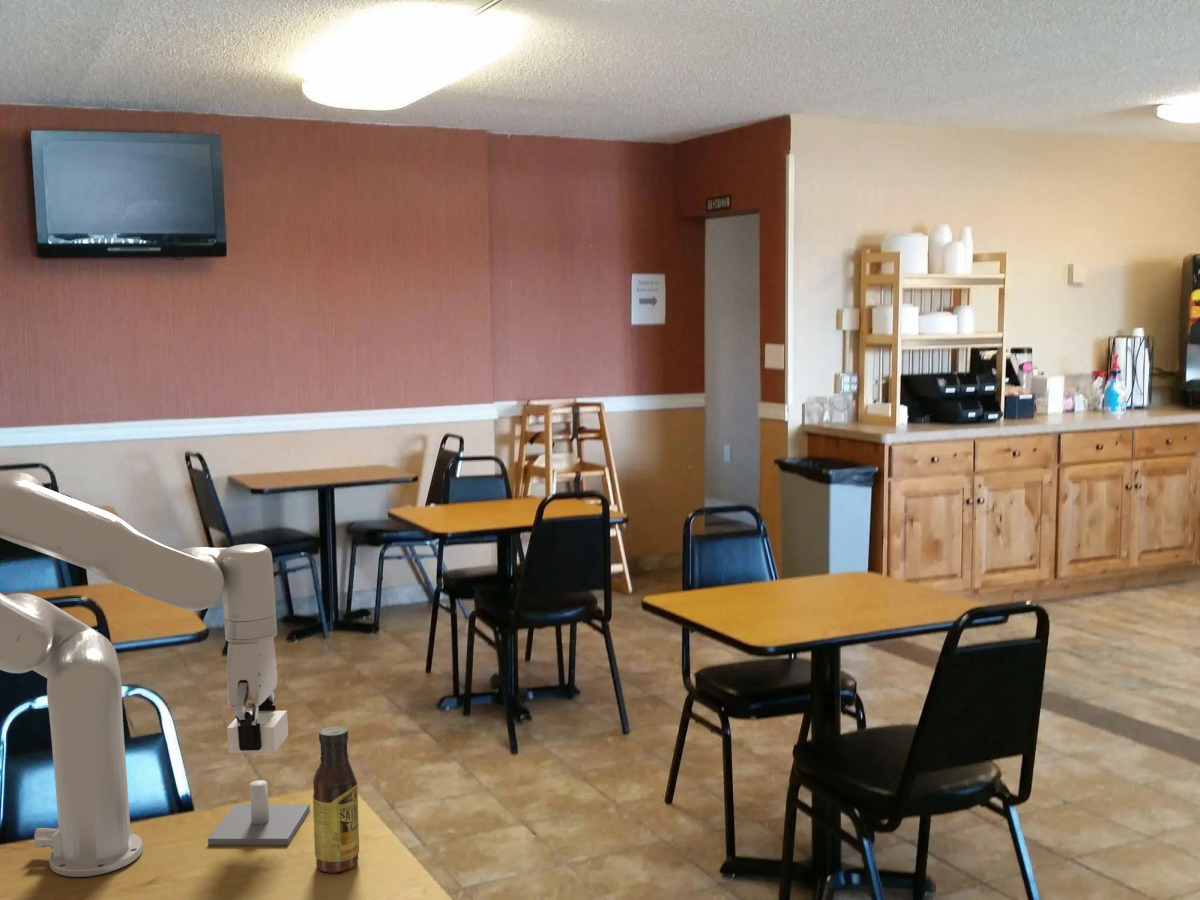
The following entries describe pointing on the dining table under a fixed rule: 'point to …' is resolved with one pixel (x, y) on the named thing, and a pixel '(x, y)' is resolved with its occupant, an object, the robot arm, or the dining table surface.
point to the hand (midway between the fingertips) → (258, 739)
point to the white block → (262, 732)
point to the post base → (259, 832)
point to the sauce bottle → (335, 804)
